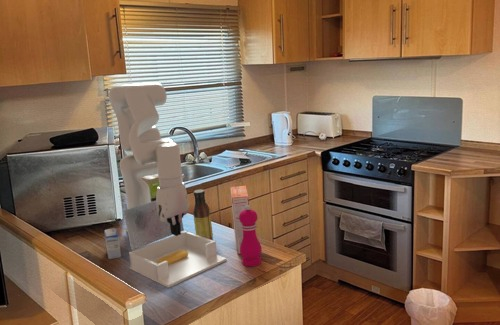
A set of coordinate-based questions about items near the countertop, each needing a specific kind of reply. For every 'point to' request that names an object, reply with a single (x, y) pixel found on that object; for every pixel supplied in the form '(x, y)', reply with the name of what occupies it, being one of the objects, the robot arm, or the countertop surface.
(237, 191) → the cracker box
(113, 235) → the medicine box
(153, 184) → the tea box
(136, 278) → the countertop surface
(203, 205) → the sauce bottle
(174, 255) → the golden yellow ridged bar
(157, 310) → the countertop surface
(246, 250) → the pepper mill
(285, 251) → the countertop surface
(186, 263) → the white shallow open box
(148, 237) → the cover
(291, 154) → the countertop surface
